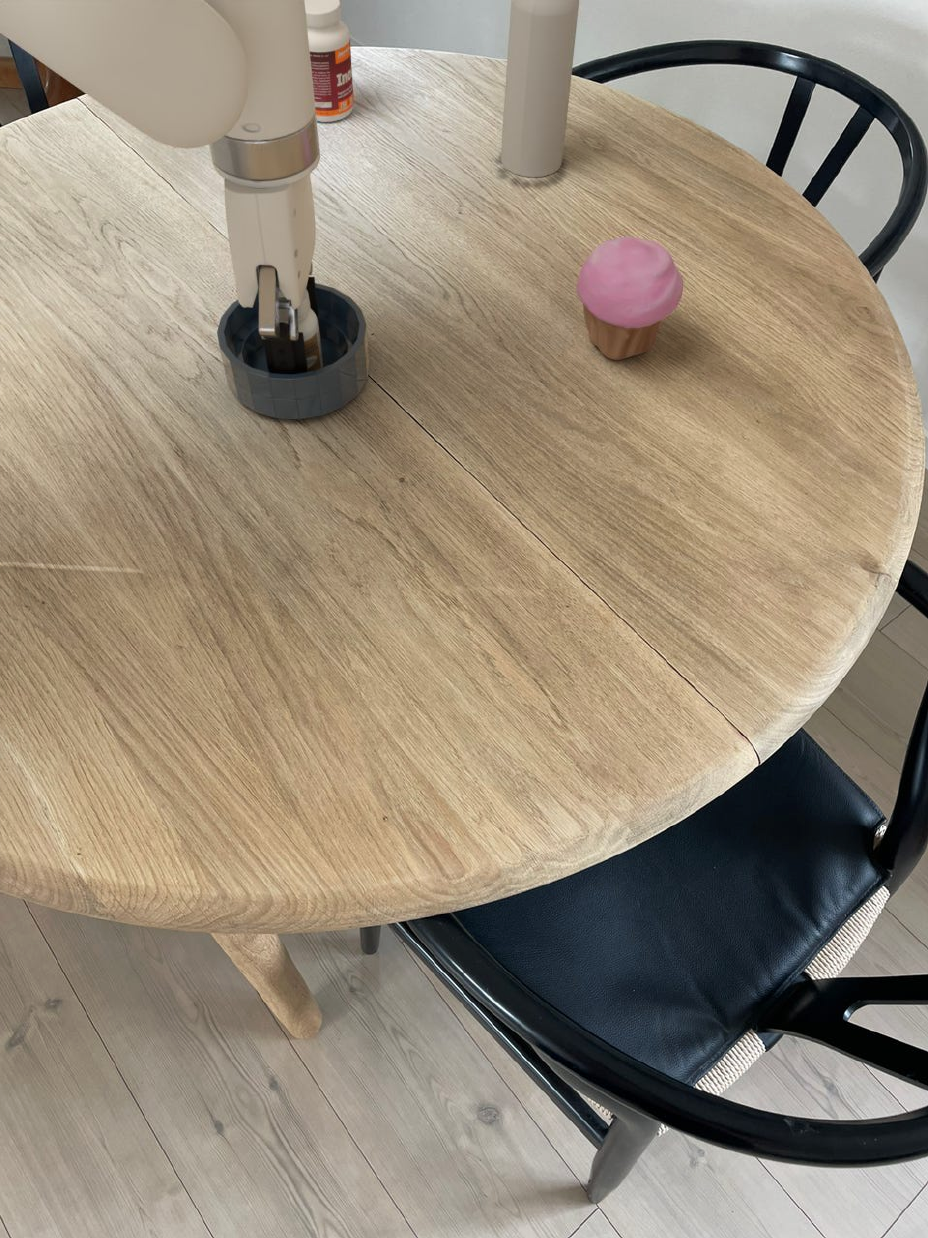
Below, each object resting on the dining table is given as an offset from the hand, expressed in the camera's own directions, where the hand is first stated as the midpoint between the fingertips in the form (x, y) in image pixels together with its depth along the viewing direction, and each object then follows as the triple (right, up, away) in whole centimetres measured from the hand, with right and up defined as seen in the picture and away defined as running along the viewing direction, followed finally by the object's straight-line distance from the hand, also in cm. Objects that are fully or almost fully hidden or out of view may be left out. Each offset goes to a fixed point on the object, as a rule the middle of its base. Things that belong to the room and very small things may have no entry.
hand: (294, 342), depth 82 cm
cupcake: (+28, +1, +6) cm, 29 cm away
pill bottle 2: (-1, +34, +27) cm, 43 cm away
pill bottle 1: (0, -2, +3) cm, 3 cm away
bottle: (+22, +26, +23) cm, 40 cm away
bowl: (0, -2, +3) cm, 3 cm away
